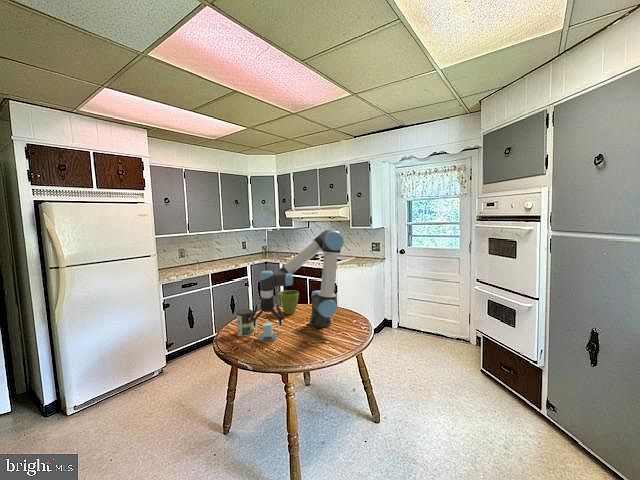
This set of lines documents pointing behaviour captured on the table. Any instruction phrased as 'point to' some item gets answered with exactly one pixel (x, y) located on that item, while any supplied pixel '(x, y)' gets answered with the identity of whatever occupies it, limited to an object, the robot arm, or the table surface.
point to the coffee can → (244, 322)
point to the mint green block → (267, 329)
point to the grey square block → (271, 338)
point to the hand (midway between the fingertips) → (267, 330)
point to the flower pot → (289, 300)
